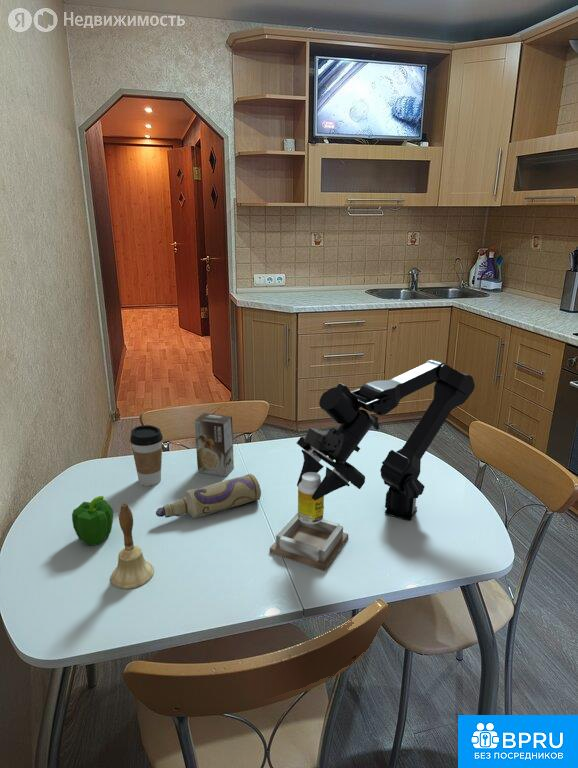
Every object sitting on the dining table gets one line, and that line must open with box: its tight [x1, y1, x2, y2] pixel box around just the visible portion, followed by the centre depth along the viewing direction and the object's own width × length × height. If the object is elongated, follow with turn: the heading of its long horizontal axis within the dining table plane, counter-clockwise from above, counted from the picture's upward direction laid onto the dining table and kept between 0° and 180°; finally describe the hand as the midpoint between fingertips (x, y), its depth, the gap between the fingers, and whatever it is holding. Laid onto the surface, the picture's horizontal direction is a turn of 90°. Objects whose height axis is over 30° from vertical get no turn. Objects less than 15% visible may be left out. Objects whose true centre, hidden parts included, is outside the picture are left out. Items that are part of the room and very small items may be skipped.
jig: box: [269, 512, 349, 572], centre depth 109 cm, size 13×13×4 cm
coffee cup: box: [129, 424, 164, 487], centre depth 134 cm, size 8×8×15 cm
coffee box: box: [194, 412, 235, 477], centre depth 140 cm, size 9×6×16 cm
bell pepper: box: [71, 495, 114, 546], centre depth 109 cm, size 8×8×10 cm
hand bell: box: [110, 502, 155, 590], centre depth 97 cm, size 8×8×16 cm
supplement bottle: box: [297, 472, 325, 524], centre depth 106 cm, size 6×6×10 cm
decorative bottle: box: [155, 473, 262, 518], centre depth 122 cm, size 26×8×7 cm, turn 119°
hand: (305, 492), depth 105 cm, fingers closed on supplement bottle, 6 cm apart
